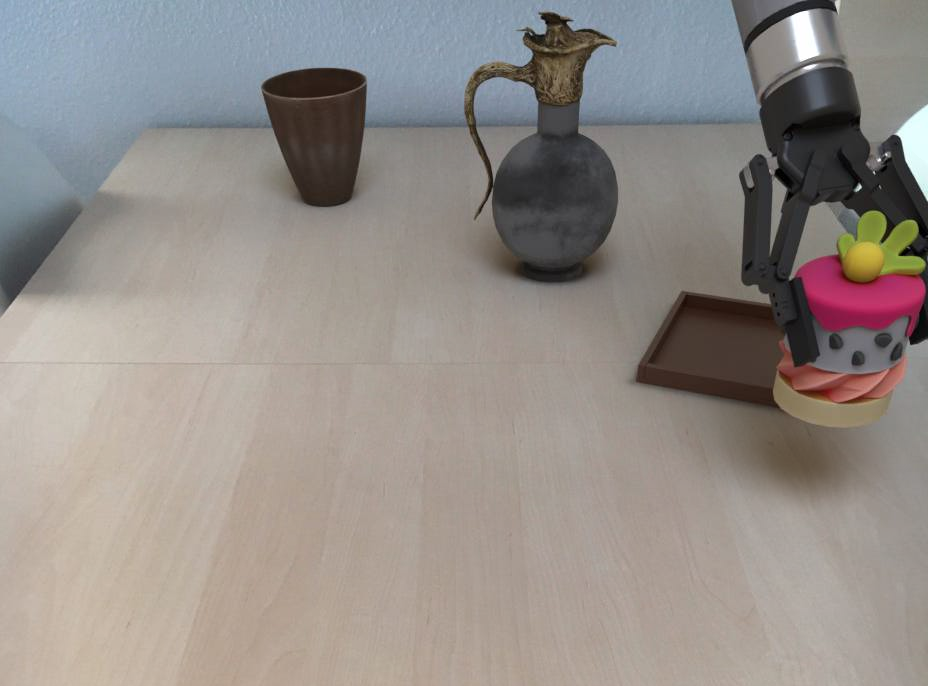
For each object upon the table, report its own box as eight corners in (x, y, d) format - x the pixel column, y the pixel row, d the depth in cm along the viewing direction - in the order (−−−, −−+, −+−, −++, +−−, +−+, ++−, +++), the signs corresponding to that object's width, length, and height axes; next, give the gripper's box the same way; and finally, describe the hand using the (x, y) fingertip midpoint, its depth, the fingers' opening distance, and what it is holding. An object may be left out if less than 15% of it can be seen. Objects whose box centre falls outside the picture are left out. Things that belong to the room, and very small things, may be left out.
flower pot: (301, 224, 148) (286, 104, 137) (261, 193, 157) (244, 78, 146) (392, 202, 153) (385, 85, 142) (348, 173, 163) (338, 61, 152)
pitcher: (610, 292, 129) (633, 21, 109) (460, 286, 132) (455, 20, 111) (613, 257, 137) (635, -2, 116) (472, 251, 139) (469, -3, 119)
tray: (871, 338, 119) (876, 319, 117) (849, 422, 106) (854, 402, 104) (679, 308, 126) (681, 290, 124) (635, 383, 113) (638, 364, 111)
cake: (893, 437, 85) (948, 261, 75) (763, 421, 88) (799, 248, 78) (892, 376, 93) (942, 208, 82) (772, 362, 95) (806, 197, 85)
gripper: (896, 98, 90) (955, 342, 90) (659, 131, 86) (720, 388, 86) (953, 45, 83) (1017, 311, 83) (697, 78, 78) (764, 359, 78)
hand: (866, 350), depth 84 cm, fingers closed on cake, 10 cm apart
